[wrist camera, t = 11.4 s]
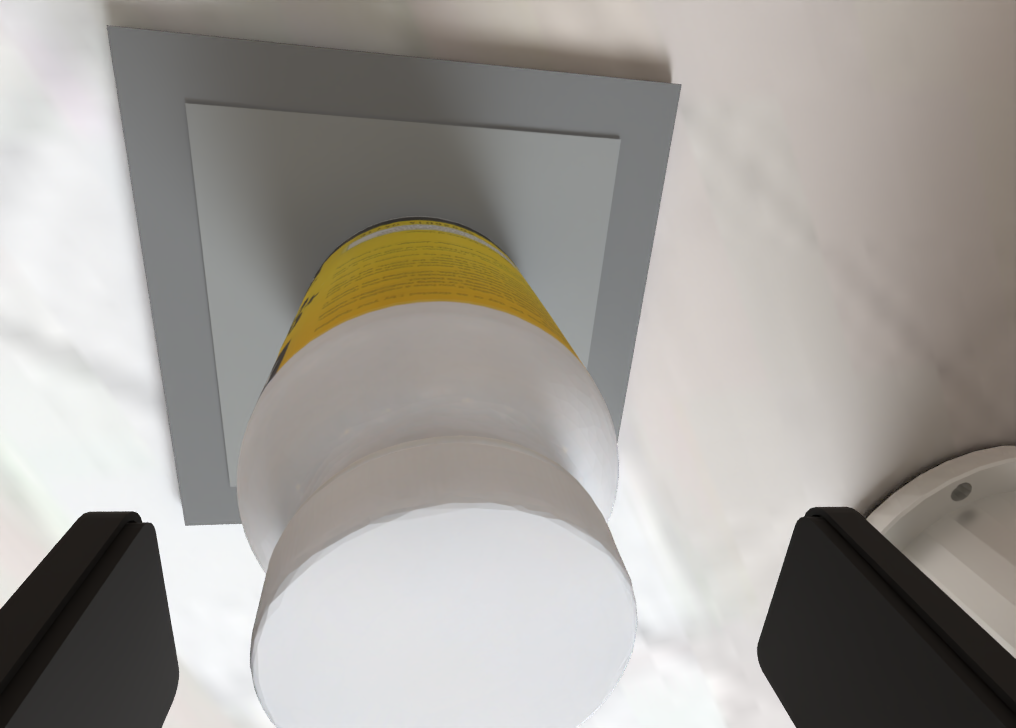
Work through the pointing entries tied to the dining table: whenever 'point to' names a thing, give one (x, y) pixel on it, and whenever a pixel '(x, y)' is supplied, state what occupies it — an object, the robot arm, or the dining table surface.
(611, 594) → the pill bottle
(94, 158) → the dining table surface
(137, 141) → the coaster
